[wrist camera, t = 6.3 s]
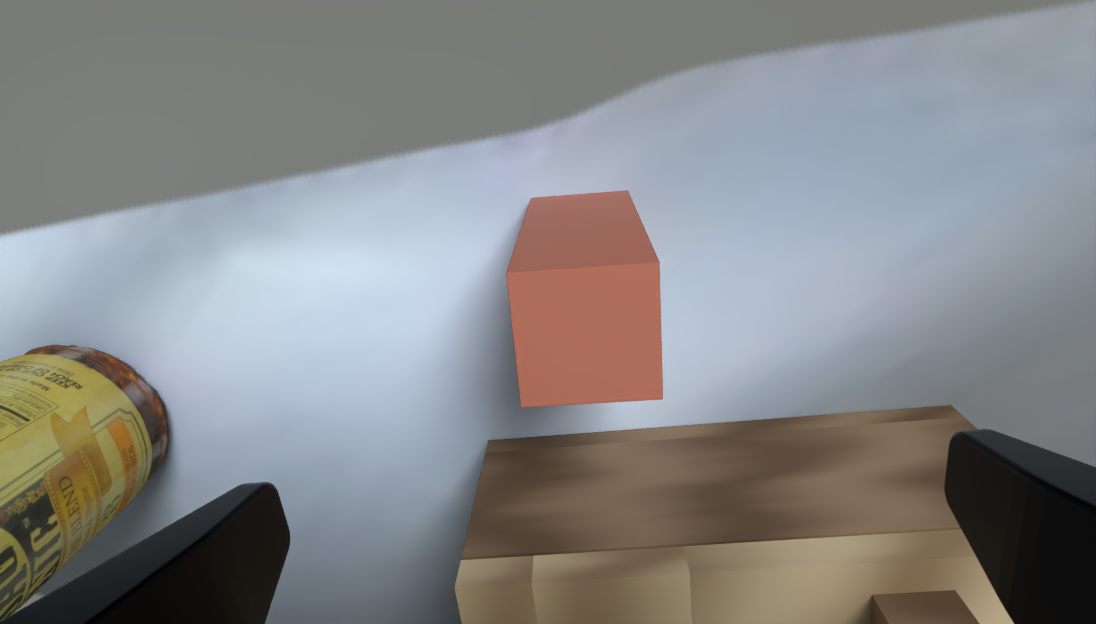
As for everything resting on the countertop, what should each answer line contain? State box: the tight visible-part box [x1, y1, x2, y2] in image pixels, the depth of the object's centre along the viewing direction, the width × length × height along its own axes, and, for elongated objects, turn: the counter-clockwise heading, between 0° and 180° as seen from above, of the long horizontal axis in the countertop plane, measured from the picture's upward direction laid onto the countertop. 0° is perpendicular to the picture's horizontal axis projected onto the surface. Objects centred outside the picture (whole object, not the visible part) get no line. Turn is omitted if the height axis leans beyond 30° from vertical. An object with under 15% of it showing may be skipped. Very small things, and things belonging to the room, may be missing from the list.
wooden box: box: [461, 405, 978, 560], centre depth 22 cm, size 16×9×6 cm, turn 96°
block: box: [506, 191, 663, 407], centre depth 17 cm, size 3×3×8 cm
